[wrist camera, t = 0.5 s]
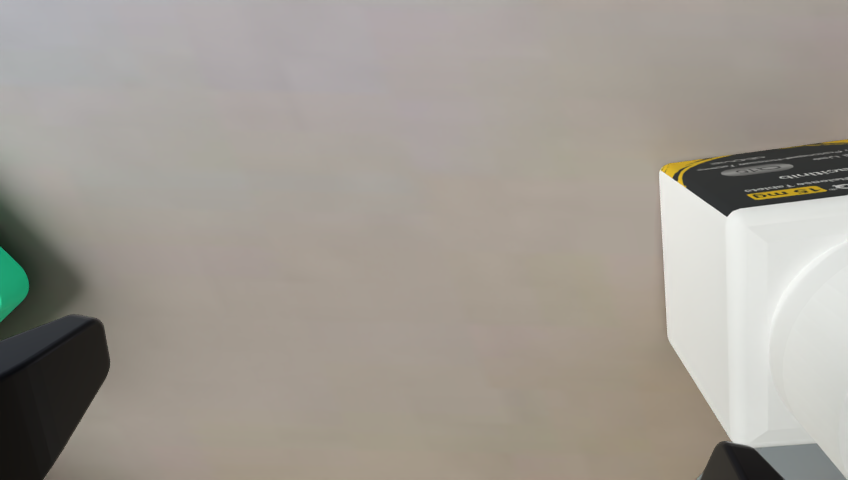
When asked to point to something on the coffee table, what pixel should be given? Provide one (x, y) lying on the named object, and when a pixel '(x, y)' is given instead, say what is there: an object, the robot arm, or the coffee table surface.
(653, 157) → the coffee table surface
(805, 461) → the plate
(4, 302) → the camera mount
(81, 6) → the coffee table surface
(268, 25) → the coffee table surface
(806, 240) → the medicine bottle
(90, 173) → the coffee table surface
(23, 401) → the robot arm
